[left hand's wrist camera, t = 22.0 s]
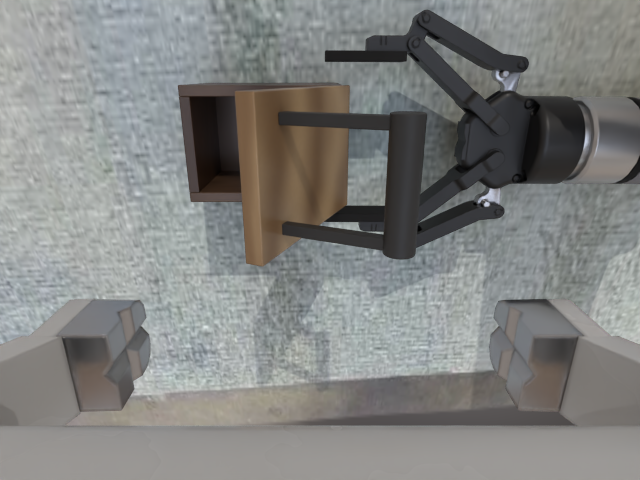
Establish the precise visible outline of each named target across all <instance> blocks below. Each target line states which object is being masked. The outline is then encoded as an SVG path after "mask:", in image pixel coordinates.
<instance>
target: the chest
mask: <svg viewBox="0 0 640 480" xmlns="http://www.w3.org/2000/svg"><path fill="white" fill-rule="evenodd" d="M332 85H340V84H338V83H203V84H189V85H178V91H179V96H180V97H179V100H180V109H181V118H182V127H183V136H184V145H185V154H186V163H187V172H188V181H189V190H190V199H191V202H242V193H241V178H240V163H239V148H238V133H237V118H236V103H235V91H244V90H261V89H279V88H297V87H315V86H332Z"/></svg>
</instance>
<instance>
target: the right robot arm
mask: <svg viewBox="0 0 640 480" xmlns="http://www.w3.org/2000/svg"><path fill="white" fill-rule="evenodd" d="M426 35H427V36H428V37H430V38H432V39H434V40H435V41H437V42H439V43H440V44H442V45H444V46H446V47H447V48H449V49H451V50H452V51H454V52H456V53H458V54H459V55H461V56H463V57H464V58H466V59H468V60H470V61H471V62H473V63H475V64H476V65H478V66H480V67H482V68H484V69H487V70H491V71H492V78H493V80H495V81H497V82H498V83H499V84H500V87H501V88H500V91H497V92H496V93H494V94H493V95H491V96H490V97H488V98H487V99H485V100H484V99H483V97H482V96H481V95H479V94H478V93H477V92H475V91H474V90H473V89H472V88H471V87H470V86H469V85H468V84H467V83H466V82H465V81H464V80H463V79H462V78H461V77H460V76H459V75H458V74H457V73H456V72H455V71H454V70H453V69H452V68H451V67H450V66H449V65H448V64H447V63H446V62H445V61H444V60H443V59H442V58H441V57H440V56H439V55H438V54H437V53H436V52H435V51H434V50H433V49H432V48H431V47H430V46H429V45H428V44H427V43H426V42H425V41H424V39H425V37H426ZM407 54H408V55H409V56H410V57H411V58H412V59H413V60H414V61H415V62H416V63H417V64H418V65H419V66H420V67H421V68H422V69H423V70H424V71H425V72H426V73H427V74H428V75H429V76H430V77H431V78H432V79H433V80H434V81H435V82H436V83H437V84H438V85H439V86H440V87H441V88H442V89H443V90H444V91H445V92H446V93H447V94H448V95H449V96H451V97H452V98H453V99H454V101H455V102H456V104H457V105H458V106H459V107H460V108H461V109H462V110H463V111H464V112H465V114H464V116H463V117H462V119H461V121H458V128H457V131H458V138H459V139H458V142H457V145H456V147H455V154H454V156H455V157H456V159H457V162H458V164H457V165H455V166H454V167H453V168H451V169H450V170H449V171H448V172H447V174H446V175H445V176H444V177H443V178H441V179H440V180H439V181H437V182H436V183H435V184H433V185H432V186H431V187H429V188H428V189H427V190H426V191H424V192H423V193H422V194H420V204H419V216H418V222H420V221H421V220H422V219H424V218H425V217H426V216H428V215H429V214H430V213H432V212H433V211H435V210H436V209H437V208H439V207H440V206H441V205H443V204H444V203H445V202H447V201H448V200H449V199H451V198H452V197H453V196H455V195H456V194H457V193H459V192H460V191H462V190H465V189H467V188H469V187H470V186H472V185H473V184H474V183H476V182H477V181H478V180H479V181H480V182H481V183H482V184H484V185H485V186H486V189H485V191H484V192H483V193H481V194H478V195H477V196H476V197H475V199H474V200H472V201H468V202H465V203H462V204H460V205H458V206H456V207H453V208H451V209H449V210H447V211H445V212H442V213H440V214H438V215H436V216H433V217H431V218H429V219H427V220H425V221H422V222H420V223H418V228H417V240H416V248H417V247H419V246H422V245H424V244H426V243H428V242H431V241H433V240H435V239H437V238H440V237H442V236H444V235H447V234H449V233H451V232H453V231H456V230H458V229H460V228H462V227H465V226H467V225H469V224H472V223H474V222H476V221H478V220H485V219H495V218H500V217H502V216H503V214H504V208H503V207H502V206H501V205H500V188H501V187H503V186H505V185H508V184H557V183H560V182H563V183H565V184H621V183H624V184H640V98H633V97H575V98H573V99H572V98H570V97H567V96H521V95H519V94H518V93H516V89H517V85H518V81H519V77H520V73H521V72H524V71H525V70H526V69H527V68H528V65H529V62H528V59H527V58H525V57H522V56H514V55H507V54H502V53H500V52H499V51H497V50H495V49H494V48H492V47H490V46H489V45H487V44H485V43H484V42H482V41H480V40H479V39H477V38H475V37H474V36H472V35H470V34H469V33H467V32H465V31H464V30H462V29H460V28H458V27H457V26H455V25H453V24H452V23H450V22H448V21H447V20H445V19H443V18H442V17H440V16H438V15H437V14H435V13H433V12H432V11H430V10H424V11H422V12H420V13H419V14H417V15H416V16H415V17H414V18H413V21H412V25H411V28H410V30H409V32H408V33H407V34H406V35H404V36H379V35H374V36H372V37H369V38H367V39H366V49H365V51H325V62H405V61H407ZM384 217H385V206H344V207H343V208H342V209H340V210H339V211H338V212H336V213H335V214H333V215H332V216H331V217H329V218H328V219H327V220H325V221H324V222H359V228H360V230H363V231H374V232H375V231H376V232H384Z"/></svg>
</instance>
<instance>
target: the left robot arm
mask: <svg viewBox="0 0 640 480" xmlns="http://www.w3.org/2000/svg"><path fill="white" fill-rule="evenodd" d="M145 319H146V313H145V308H144V304H143V303H142V302H141V301H140V300H111V299H74V300H69V301H68V302H67V303H66V304H65V305H64V306H62V307H61V308H60V309H59V310H58V311H57V312H56V313H55V314H53V315H52V316H51V317H50V318H49V319H48V320H47V321H46V322H44V323H43V324H42V325H41V326H40V327H39V328H38V329H36V330H35V331H34V332H33V333H32V334H31V335H30V336H21V337H19V338H16V339H13V340H11V341H8V342H6V343H3V344H1V345H0V480H640V345H639V344H637V343H634V342H632V341H629V340H627V339H624V338H621V337H619V336H610V335H609V334H608V333H607V332H606V331H605V330H604V329H602V328H601V327H600V326H599V325H598V324H597V323H596V322H595V321H593V320H592V319H591V318H590V317H589V316H588V315H587V314H586V313H584V312H583V311H582V310H581V309H580V308H579V307H578V306H577V305H575V304H574V303H573V302H572V301H571V300H568V299H529V300H502V301H498V303H497V305H496V308H495V313H494V319H495V320H496V322H497V324H498V325H499V327H498V328H497V329H496V330H495V331H494V332H493V333H492V334H491V338H490V346H489V349H490V359H491V362H492V365H493V368H494V370H495V372H496V373H497V375H498V376H500V377H501V378H503V379H504V380H506V381H507V384H506V390H507V392H508V394H509V395H510V397H511V399H512V400H513V402H514V404H515V405H516V407H517V409H518V410H519V411H553V412H560V414H561V415H563V416H564V417H565V418H566V419H568V420H569V421H571V422H572V423H573V424H575V425H576V426H64V425H66V424H67V423H68V422H70V421H71V420H72V419H74V418H75V417H76V416H78V415H79V414H80V412H87V411H121V410H122V409H123V407H124V405H125V404H126V402H127V400H128V399H129V397H130V395H131V394H132V392H133V390H134V384H133V381H134V380H136V379H137V378H139V377H140V376H142V375H143V373H144V372H145V370H146V368H147V366H148V362H149V358H150V337H149V334H148V333H147V332H146V331H145V330H144V329H143V328H142V327H141V325H142V324H143V322H144V320H145Z"/></svg>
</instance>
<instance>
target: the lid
mask: <svg viewBox="0 0 640 480" xmlns="http://www.w3.org/2000/svg"><path fill="white" fill-rule="evenodd" d="M349 94H350V86H349V85H332V86H315V87H297V88H279V89H261V90H244V91H235V103H236V118H237V133H238V148H239V163H240V178H241V193H242V208H243V223H244V238H245V253H246V263H247V264H252V265H257V266H264V265H266V264H267V263H268V262H270V261H271V260H272V259H274V258H275V257H276V256H278V255H279V254H281V253H282V252H283V251H285V250H286V249H287V248H289V247H290V246H291V245H293V244H294V243H295V242H297V241H298V240H300V239H301V238H306V239H312V240H318V241H325V242H331V243H338V244H344V245H351V246H357V247H364V248H370V249H376V250H383V254H384V255H385V256H387V257H389V258H393V259H409V258H412V257H414V256H415V251H416V240H417V228H418V216H419V204H420V192H421V180H422V168H423V156H424V144H425V132H426V120H427V113H425V112H412V111H399V112H391V113H390V115H382V114H353V113H349ZM349 129H369V130H389V143H388V162H387V180H386V198H385V217H384V235H382V234H375V233H368V232H361V231H354V230H347V229H340V228H333V227H326V226H319V225H320V224H321V223H323V222H324V221H325V220H327V219H328V218H329V217H331V216H332V215H333V214H335V213H336V212H338V211H339V210H340V209H342V208H343V207H344V206H346V205H347V184H348V139H349Z"/></svg>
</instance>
